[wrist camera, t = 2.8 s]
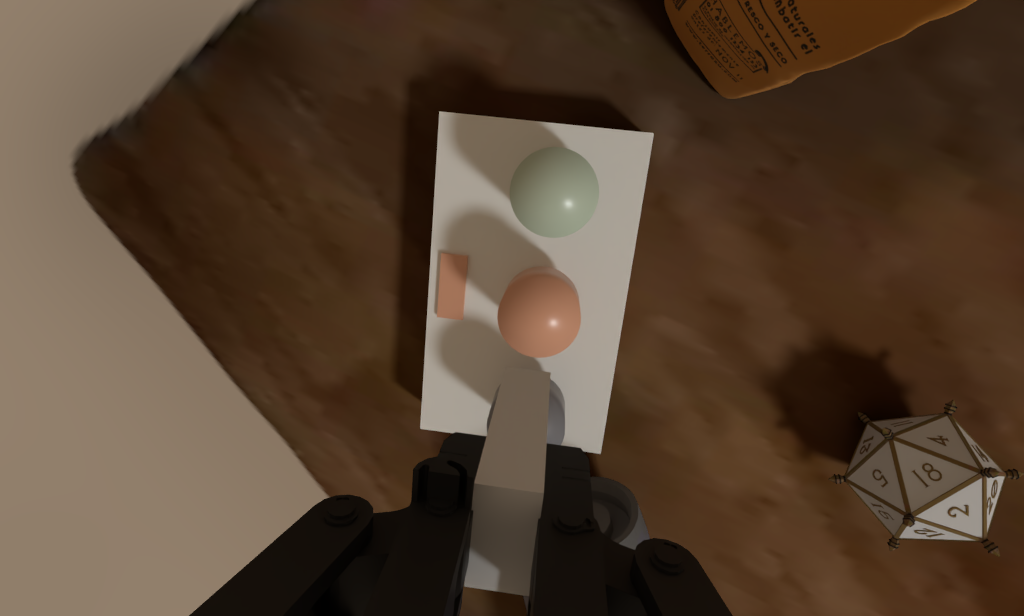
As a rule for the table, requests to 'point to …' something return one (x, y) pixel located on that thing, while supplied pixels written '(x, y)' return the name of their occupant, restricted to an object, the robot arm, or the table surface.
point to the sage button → (554, 192)
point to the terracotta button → (539, 312)
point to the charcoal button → (554, 414)
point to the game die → (926, 479)
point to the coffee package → (789, 35)
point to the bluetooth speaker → (616, 514)
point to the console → (512, 249)
